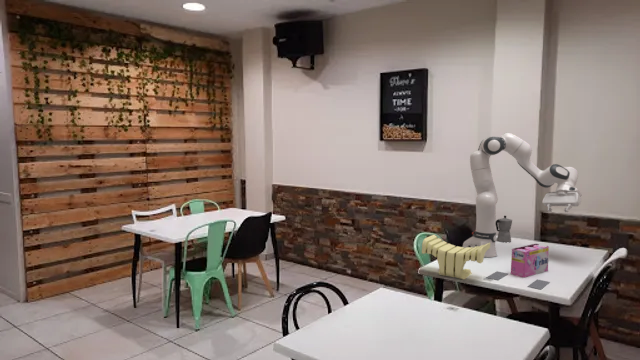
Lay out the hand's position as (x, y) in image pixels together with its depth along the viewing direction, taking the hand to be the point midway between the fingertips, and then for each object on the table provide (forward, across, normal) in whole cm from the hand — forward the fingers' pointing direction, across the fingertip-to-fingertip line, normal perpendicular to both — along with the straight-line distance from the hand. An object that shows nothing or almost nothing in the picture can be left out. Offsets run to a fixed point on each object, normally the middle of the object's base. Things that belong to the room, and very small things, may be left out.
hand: (557, 211), depth 253 cm
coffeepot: (+3, -52, +34) cm, 62 cm away
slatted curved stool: (+65, -20, -35) cm, 76 cm away
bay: (+54, +3, -18) cm, 57 cm away
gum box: (+43, -1, -4) cm, 43 cm away
